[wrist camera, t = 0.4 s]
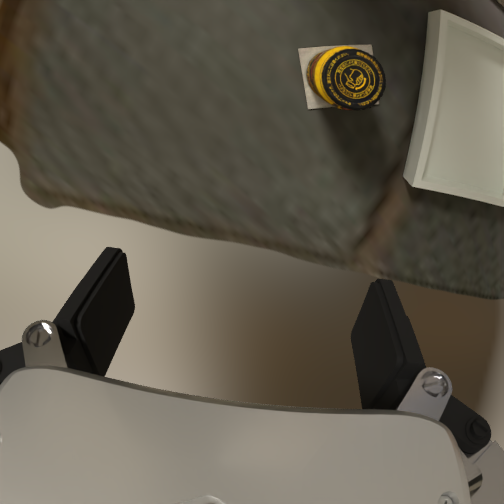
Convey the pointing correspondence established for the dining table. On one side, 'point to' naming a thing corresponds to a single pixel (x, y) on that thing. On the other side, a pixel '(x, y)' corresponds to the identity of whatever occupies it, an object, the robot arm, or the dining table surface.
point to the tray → (459, 112)
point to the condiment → (342, 77)
